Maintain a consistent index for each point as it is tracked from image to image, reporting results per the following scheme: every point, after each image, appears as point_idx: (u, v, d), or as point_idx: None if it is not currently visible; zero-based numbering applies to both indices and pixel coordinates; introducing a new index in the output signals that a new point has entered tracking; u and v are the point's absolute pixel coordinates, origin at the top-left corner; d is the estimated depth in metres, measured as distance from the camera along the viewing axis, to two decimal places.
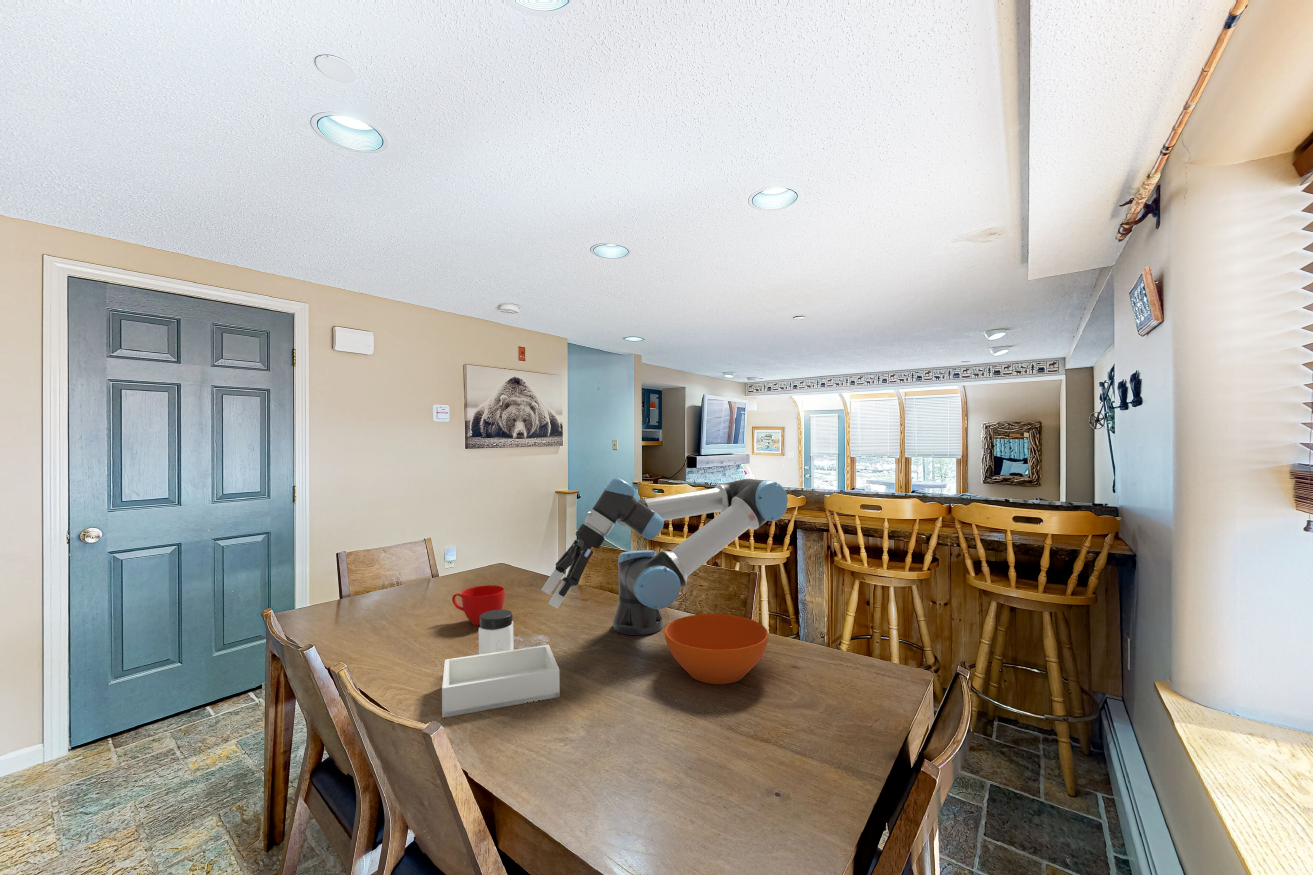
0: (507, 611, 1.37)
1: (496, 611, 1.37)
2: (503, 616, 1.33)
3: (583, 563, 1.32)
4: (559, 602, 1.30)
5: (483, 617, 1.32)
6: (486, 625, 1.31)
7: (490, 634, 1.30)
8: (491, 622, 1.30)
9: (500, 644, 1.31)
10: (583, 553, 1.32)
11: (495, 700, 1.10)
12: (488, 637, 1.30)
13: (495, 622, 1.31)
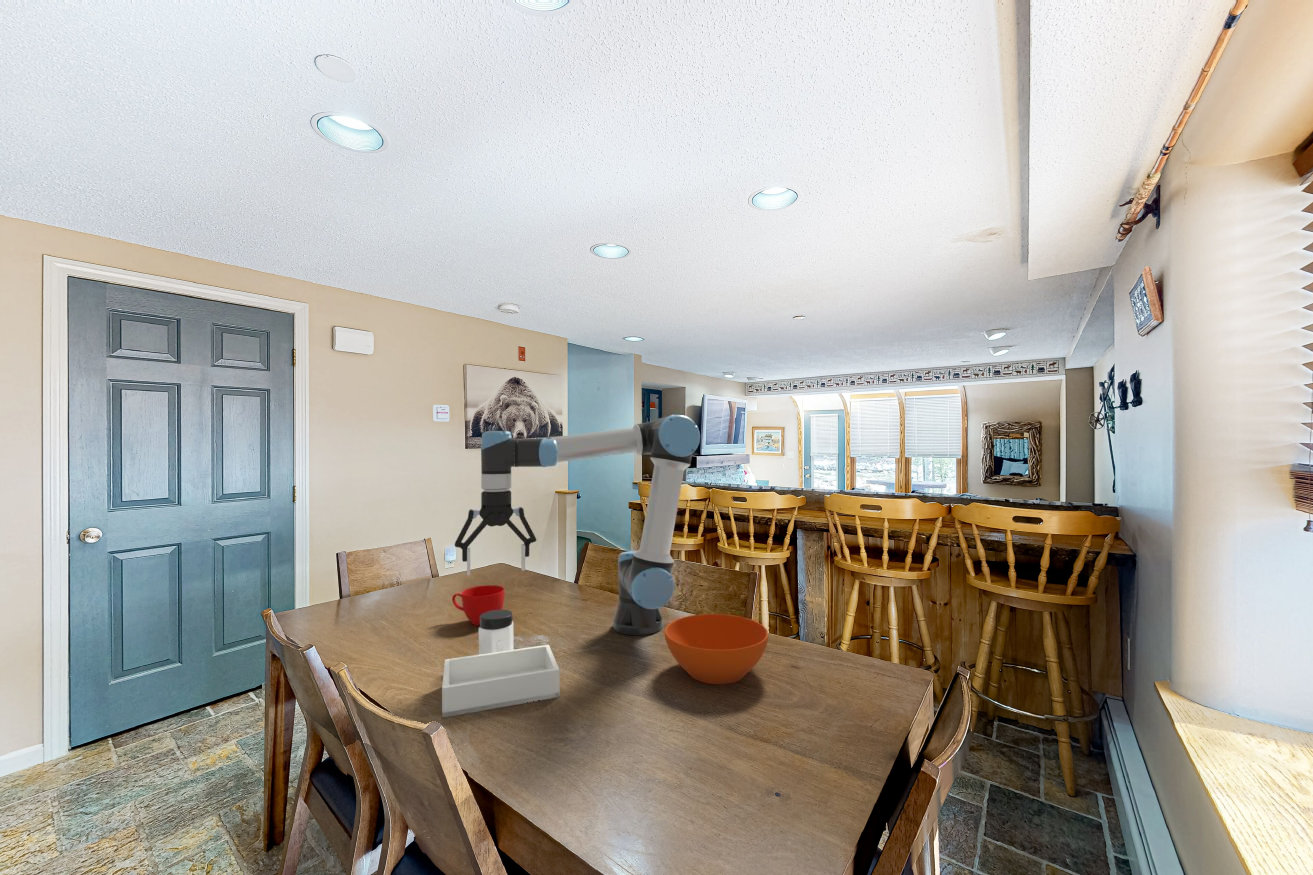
0: (507, 611, 1.37)
1: (496, 611, 1.37)
2: (503, 616, 1.33)
3: (464, 524, 1.32)
4: (467, 568, 1.32)
5: (483, 617, 1.32)
6: (486, 625, 1.31)
7: (490, 634, 1.30)
8: (491, 622, 1.30)
9: (500, 644, 1.31)
10: None
11: (495, 700, 1.10)
12: (488, 637, 1.30)
13: (495, 622, 1.31)
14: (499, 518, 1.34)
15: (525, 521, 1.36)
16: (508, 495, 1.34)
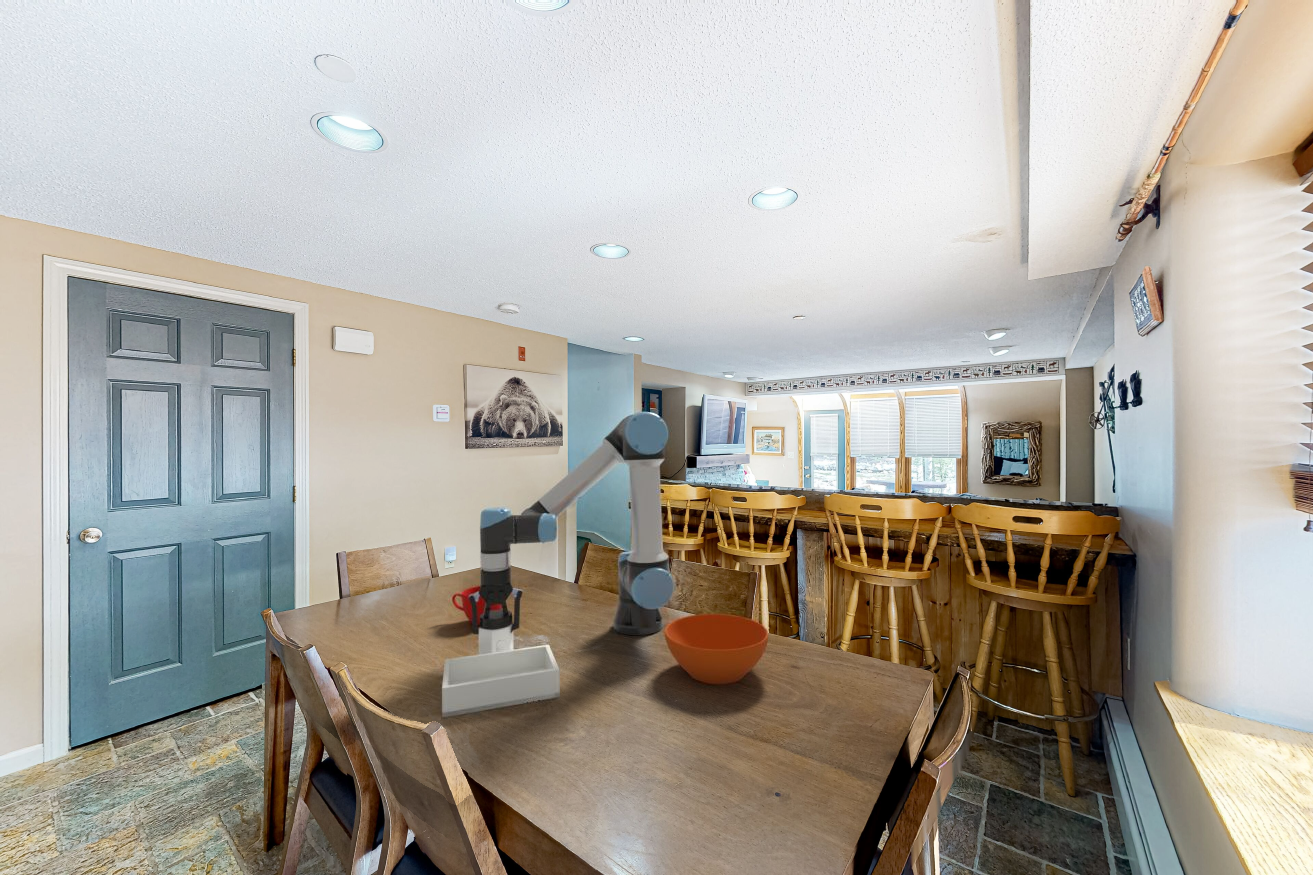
0: None
1: (496, 611, 1.37)
2: (503, 616, 1.33)
3: None
4: None
5: (483, 617, 1.32)
6: (486, 625, 1.31)
7: (490, 634, 1.30)
8: (491, 622, 1.30)
9: (500, 644, 1.31)
10: None
11: (495, 700, 1.10)
12: (488, 637, 1.30)
13: (495, 622, 1.31)
14: (499, 597, 1.34)
15: (518, 605, 1.35)
16: (508, 573, 1.34)
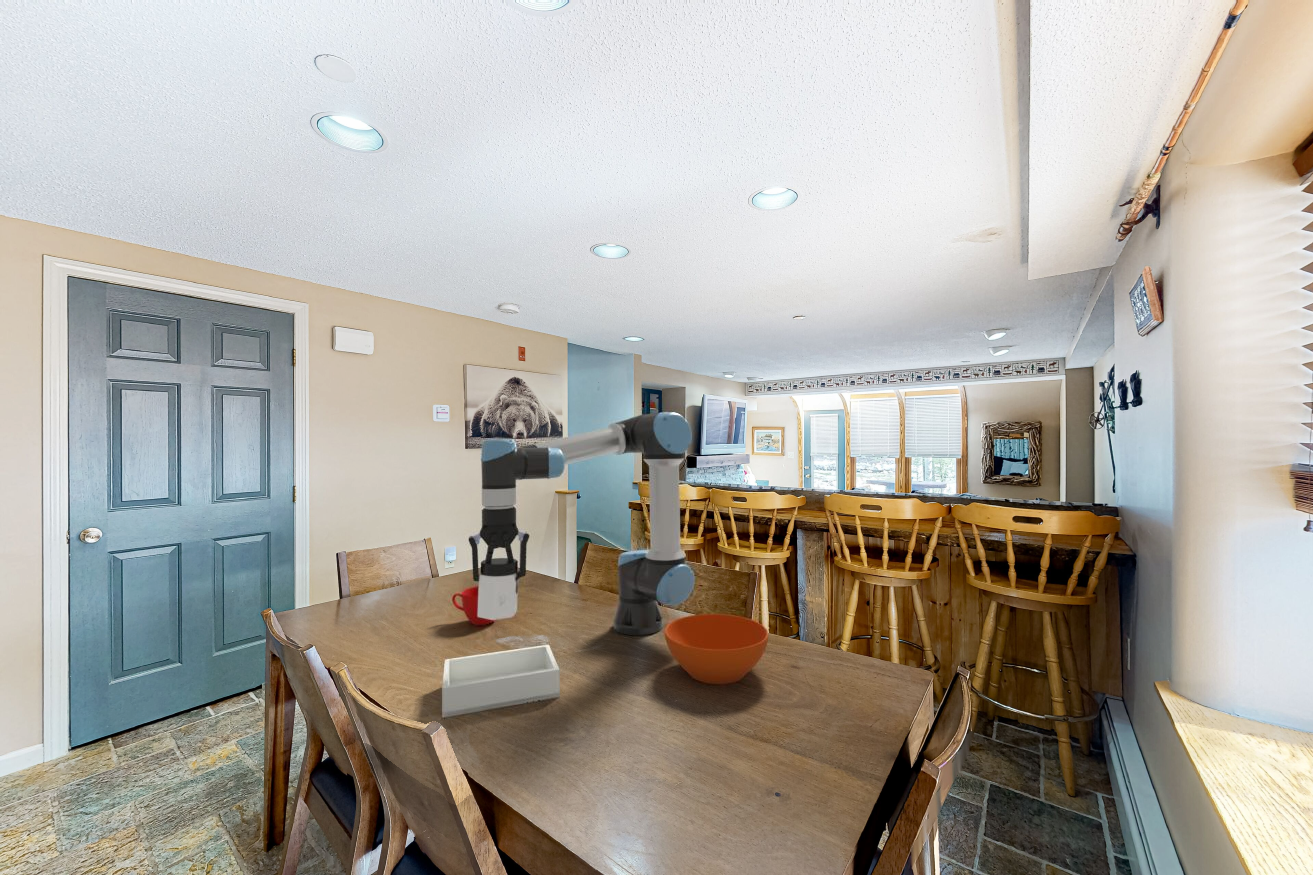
0: None
1: (499, 559, 1.21)
2: (508, 562, 1.16)
3: (472, 554, 1.16)
4: None
5: None
6: (488, 571, 1.14)
7: (492, 581, 1.14)
8: (494, 568, 1.14)
9: (503, 594, 1.14)
10: None
11: (495, 700, 1.10)
12: (489, 584, 1.14)
13: (498, 568, 1.14)
14: (502, 539, 1.17)
15: (524, 550, 1.19)
16: (513, 513, 1.17)
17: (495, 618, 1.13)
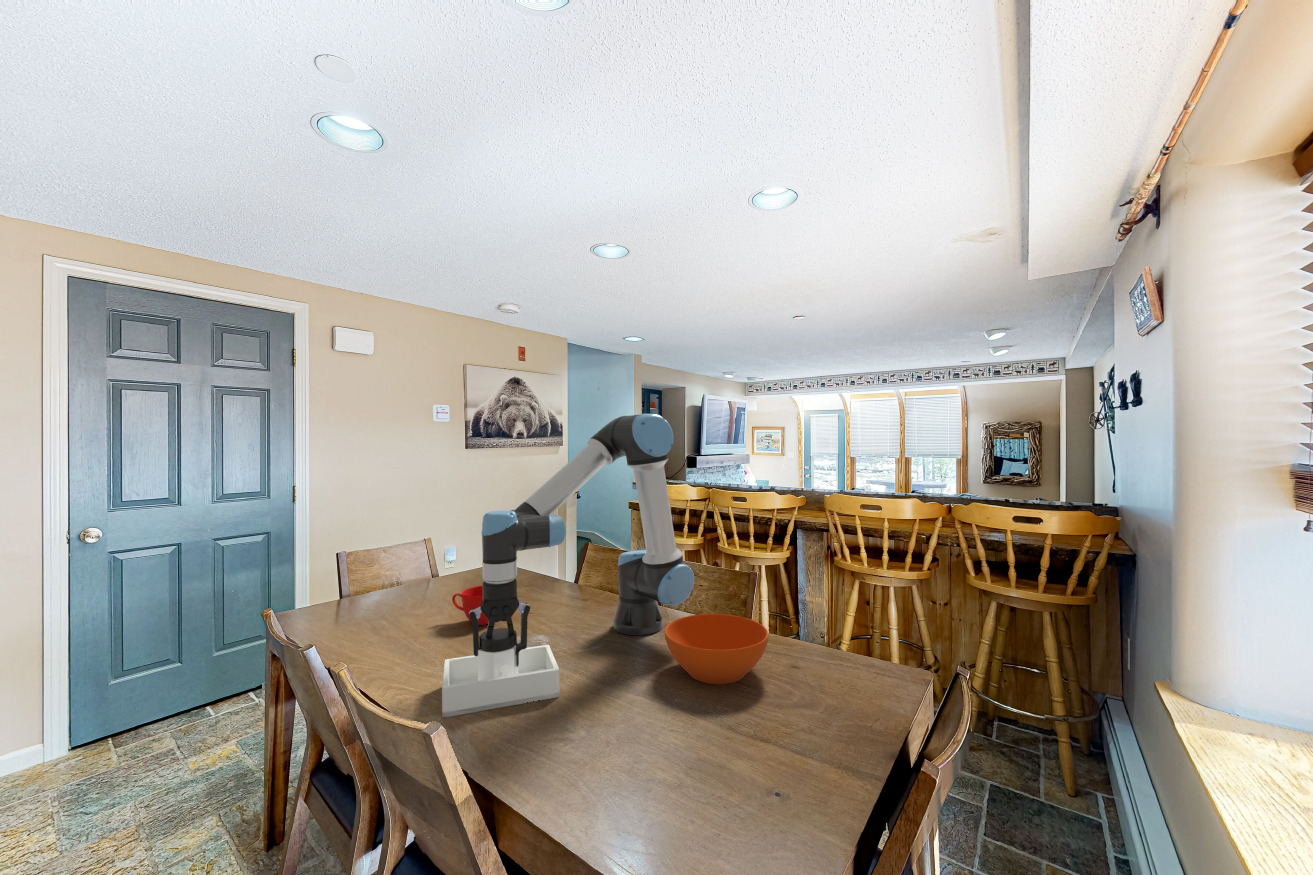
0: None
1: (498, 630, 1.20)
2: (506, 636, 1.15)
3: None
4: None
5: (483, 638, 1.15)
6: (487, 647, 1.13)
7: (491, 657, 1.13)
8: (493, 644, 1.13)
9: (503, 669, 1.14)
10: None
11: (495, 700, 1.10)
12: (489, 661, 1.13)
13: (497, 644, 1.13)
14: (503, 613, 1.17)
15: (525, 622, 1.19)
16: (514, 586, 1.17)
17: None
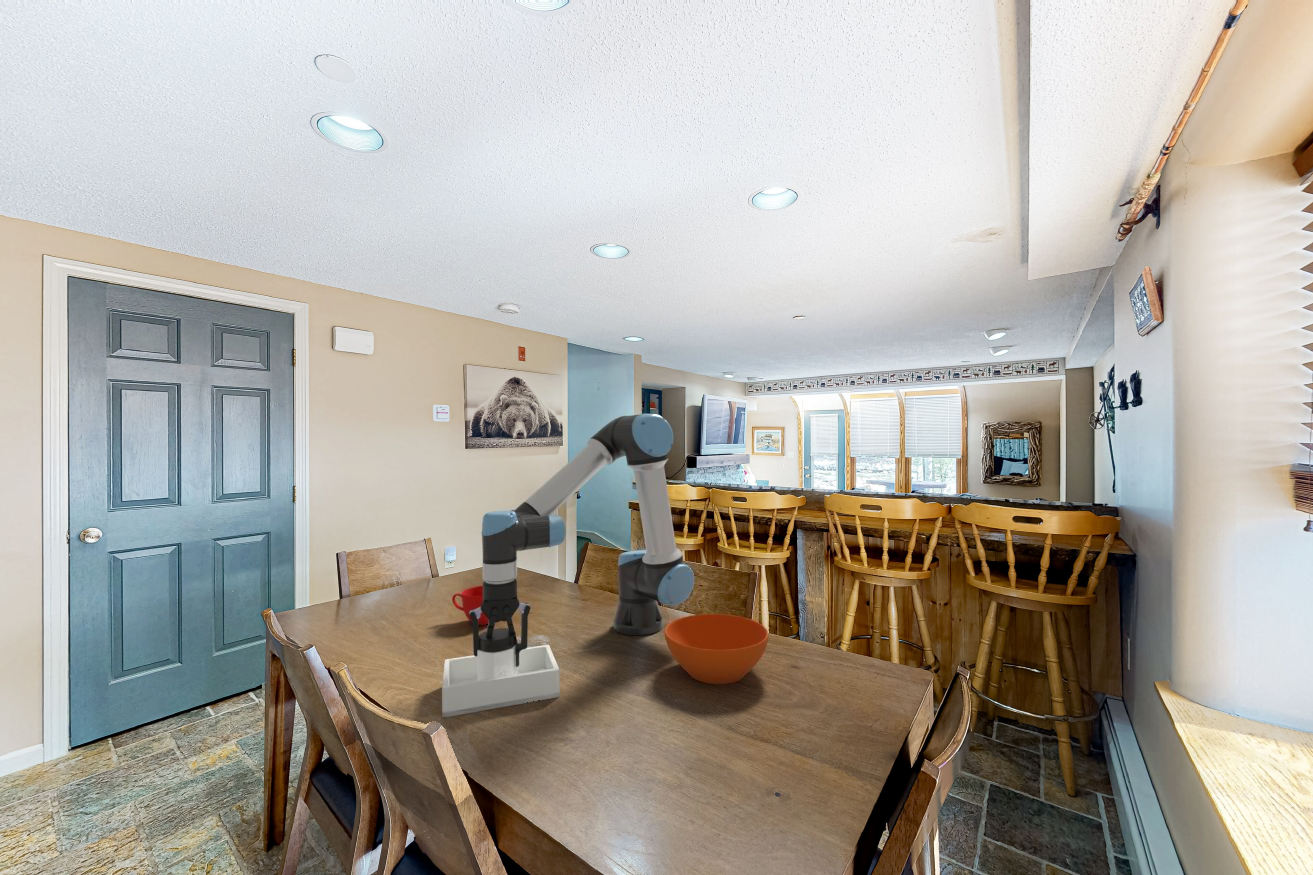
0: None
1: (497, 630, 1.20)
2: (506, 636, 1.15)
3: None
4: None
5: (482, 638, 1.15)
6: (486, 648, 1.13)
7: (491, 658, 1.13)
8: (492, 644, 1.13)
9: (503, 669, 1.14)
10: None
11: (495, 700, 1.10)
12: (488, 661, 1.13)
13: (497, 644, 1.13)
14: (503, 613, 1.17)
15: (525, 622, 1.19)
16: (514, 586, 1.17)
17: None
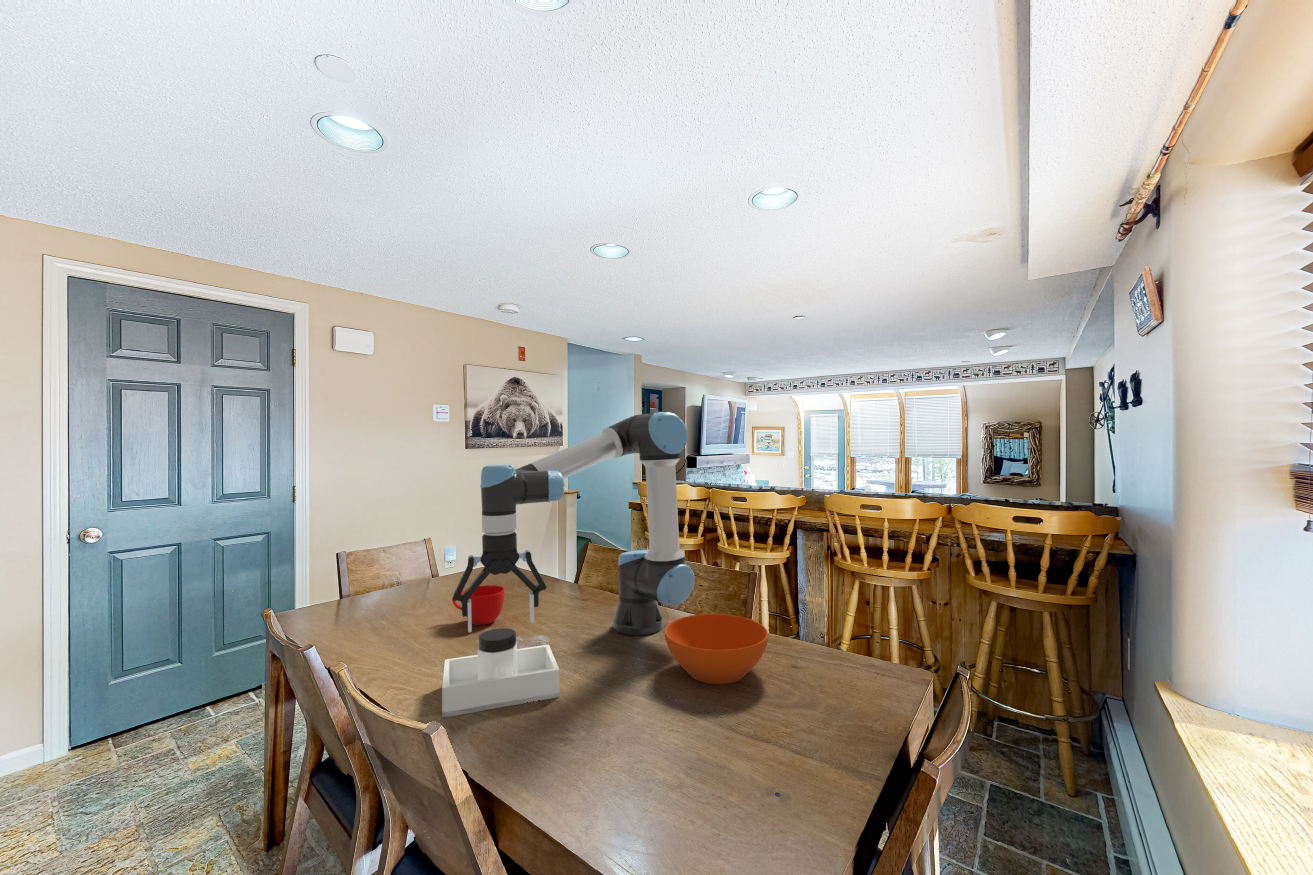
0: (510, 630, 1.19)
1: (497, 630, 1.20)
2: (506, 636, 1.15)
3: (464, 573, 1.15)
4: None
5: (483, 638, 1.15)
6: (486, 648, 1.13)
7: (491, 658, 1.13)
8: (492, 644, 1.13)
9: (503, 669, 1.14)
10: None
11: (495, 700, 1.10)
12: (489, 661, 1.13)
13: (497, 644, 1.13)
14: (503, 565, 1.17)
15: (533, 567, 1.19)
16: (513, 538, 1.17)
17: None
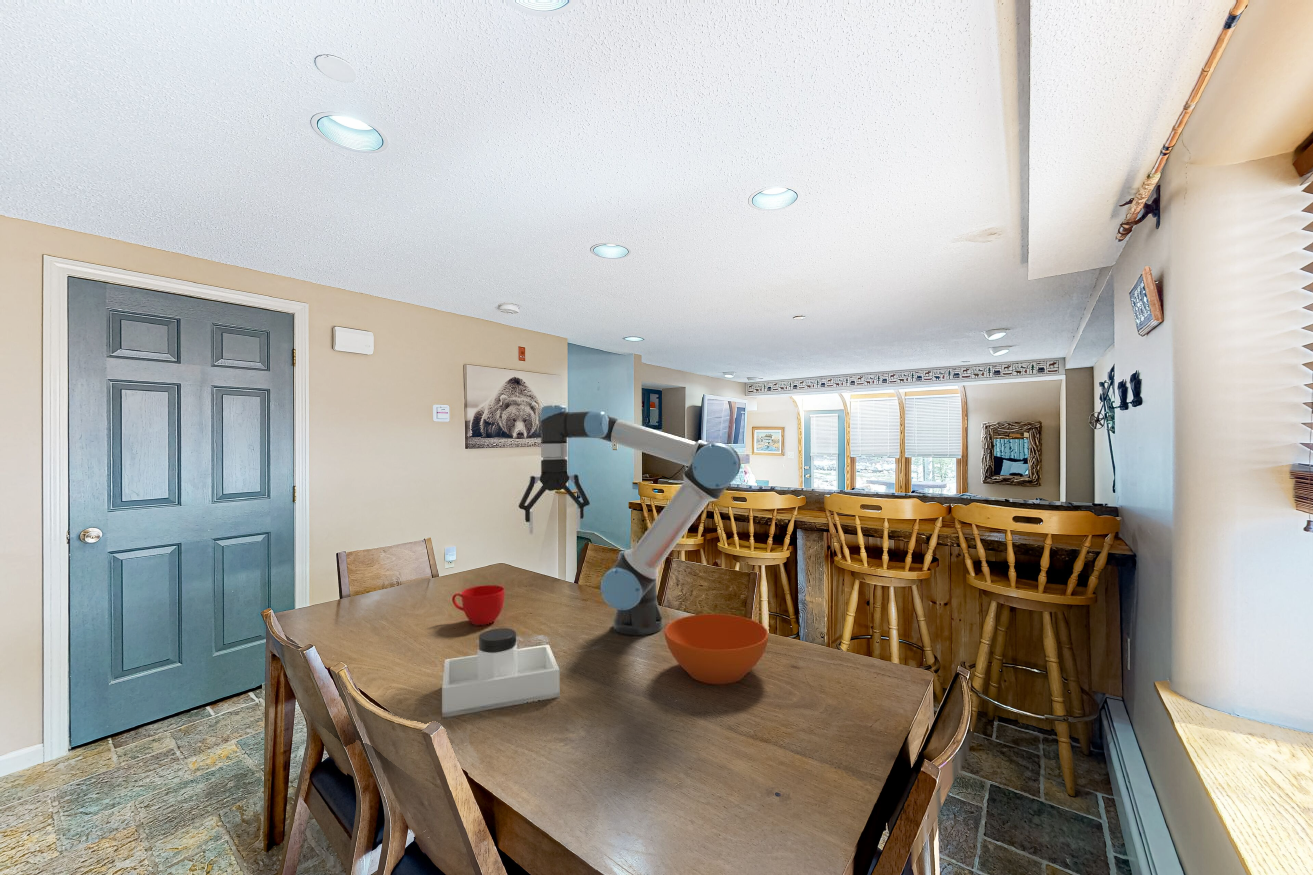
0: (510, 630, 1.19)
1: (497, 630, 1.20)
2: (506, 636, 1.15)
3: (527, 488, 1.47)
4: (529, 528, 1.47)
5: (483, 638, 1.15)
6: (486, 648, 1.13)
7: (491, 658, 1.13)
8: (492, 644, 1.13)
9: (503, 669, 1.14)
10: None
11: (495, 700, 1.10)
12: (489, 661, 1.13)
13: (497, 644, 1.13)
14: (557, 484, 1.50)
15: (580, 486, 1.52)
16: (565, 463, 1.49)
17: None
